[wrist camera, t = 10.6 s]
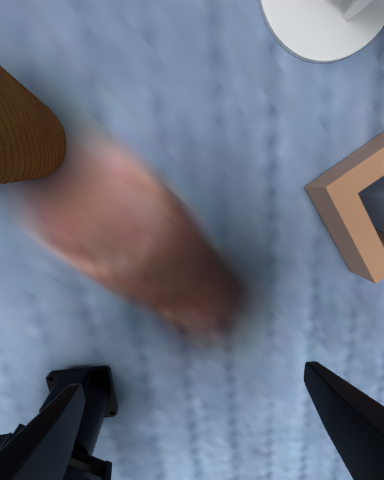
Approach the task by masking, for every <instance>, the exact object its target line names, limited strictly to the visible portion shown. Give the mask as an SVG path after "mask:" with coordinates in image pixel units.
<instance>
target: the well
mask: <svg viewBox="0 0 384 480" xmlns="http://www.w3.org/2000/svg"><path fill="white" fill-rule="evenodd" d="M382 176H384V132H382V133H381V134H379V135H378V136H376V137H375V138H374V139H372V140H371V141H369V142H368V143H366V144H365V145H364V146H362V147H361V148H359V149H358V150H356V151H355V152H354V153H352V154H351V155H349V156H348V157H346V158H345V159H344V160H342V161H341V162H339V163H338V164H336V165H335V166H334V167H332V168H331V169H329V170H328V171H326V172H325V173H324V174H322V175H321V176H319V177H318V178H316V179H315V180H314V181H312V182H311V183H309V184H308V185H306V186H305V187H304V188H305V189H306V191H307V193H308V195H309V197H310V199H311V200H312V202H313V204H314V206H315V208H316V210H317V211H318V213H319V215H320V217H321V219H322V220H323V222H324V224H325V226H326V228H327V230H328V231H329V233H330V235H331V237H332V239H333V241H334V242H335V244H336V246H337V248H338V250H339V252H340V253H341V255H342V257H343V259H344V261H345V263H346V264H347V266H348V268H349V270H350V271H351V272H353V273H355V274H357V275H359V276H361V277H363V278H365V279H367V280H369V281H371V282H373V283H375V284H376V283H377V282H379V281H380V280H382V279H384V232H379V233H377V232H376V230H375V228H374V226H373V224H372V222H371V220H370V218H369V216H368V214H367V212H366V210H365V207H364V205H363V203H362V201H361V199H360V197H359V195H358V193H359V192H360V191H362V190H363V189H365V188H366V187H367V186H369V185H370V184H372V183H373V182H375V181H376V180H378V179H379V178H381V177H382Z"/></svg>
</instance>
